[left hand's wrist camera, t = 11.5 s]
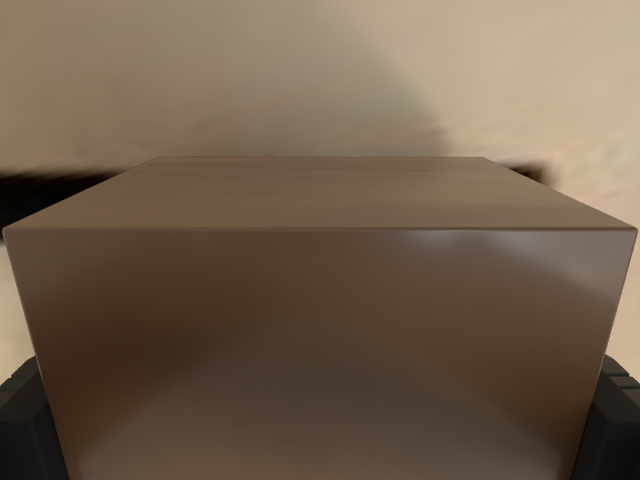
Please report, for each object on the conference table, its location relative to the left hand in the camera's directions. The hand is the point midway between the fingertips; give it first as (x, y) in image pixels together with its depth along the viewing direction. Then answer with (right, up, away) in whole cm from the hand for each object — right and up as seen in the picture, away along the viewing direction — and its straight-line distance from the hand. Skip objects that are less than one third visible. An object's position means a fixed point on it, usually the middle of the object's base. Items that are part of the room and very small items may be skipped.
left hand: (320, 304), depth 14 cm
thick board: (0, -24, +9) cm, 26 cm away
